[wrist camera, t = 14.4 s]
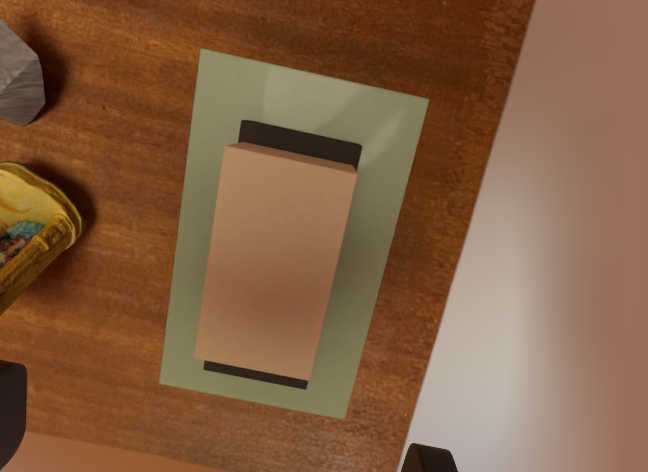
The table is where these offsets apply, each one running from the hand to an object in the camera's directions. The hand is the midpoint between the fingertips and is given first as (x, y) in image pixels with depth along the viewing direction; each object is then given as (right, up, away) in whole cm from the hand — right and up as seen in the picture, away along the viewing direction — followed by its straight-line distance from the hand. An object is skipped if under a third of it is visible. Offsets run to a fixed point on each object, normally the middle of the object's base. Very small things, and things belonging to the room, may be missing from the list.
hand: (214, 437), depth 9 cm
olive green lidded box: (0, +6, +25) cm, 26 cm away
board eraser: (0, +3, +15) cm, 16 cm away
